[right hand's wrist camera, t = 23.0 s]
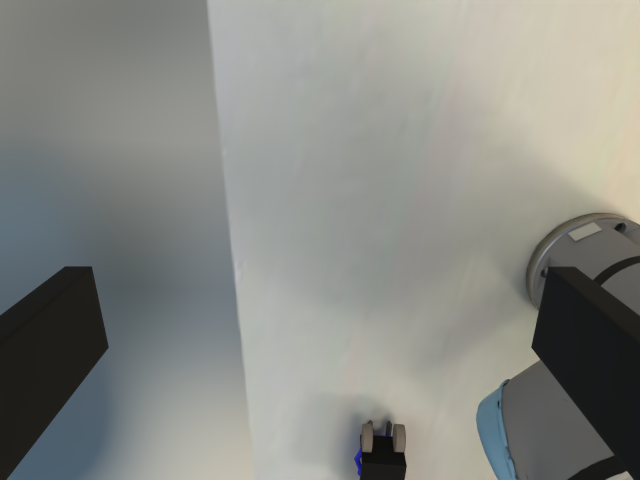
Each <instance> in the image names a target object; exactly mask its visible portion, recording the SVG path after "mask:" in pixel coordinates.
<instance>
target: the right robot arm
mask: <svg viewBox="0 0 640 480" xmlns="http://www.w3.org/2000/svg"><path fill="white" fill-rule="evenodd" d="M526 285H527V291H528V294H529V297H530V299H531V301H532V303H533V304H534V305H535V307H536V308H537V309H538V310H539V313H538V318H537V323H536V328H535V332H534V337H533V342H532V347H531V348H532V349H533V350H534V352H535V353H536V354H537V355H538V357H539V358H540V359H541V360H539V361H538V362H536V363H535V364H533V365H532V366H530V367H529V368H527V369H526V370H524V371H523V372H521V373H520V374H518V375H517V376H515V377H514V378H512V379H507V380H505V381H504V382H503V383H502V384H501V386H500V387H499V388H498V389H497V390H495V391H494V392H492V393H491V394H490V395H488V396H487V397H486V398H484V399H483V400H482V401H481V403H480V404H479V407H478V411H477V415H476V422H477V428H478V433H479V436H480V440H481V443H482V446H483V448H484V451H485V453H486V456H487V458H488V460H489V463H490V465H491V467H492V469H493V471H494V473H495V475H496V477H497V479H498V480H640V225H638V224H637V223H635V222H632V221H630V220H628V219H626V218H624V217H621V216H618V215H613V214H605V213H599V214H590V215H585V216H581V217H578V218H575V219H573V220H570V221H568V222H566V223H564V224H563V225H561V226H559V227H558V228H557V229H555V230H554V231H553V232H551V233H550V234H549V235H548V236H547V237H546V238H545V239H544V240H543V241H542V242H541V243H540V245H539V246H538V247H537V249H536V251H535V252H534V254H533V256H532V258H531V260H530V263H529V266H528V269H527V276H526ZM107 349H108V342H107V337H106V332H105V328H104V323H103V318H102V313H101V309H100V304H99V299H98V294H97V289H96V285H95V280H94V275H93V270H92V267H64V268H63V269H61V270H60V271H59V272H57V273H56V274H55V275H53V276H52V277H51V278H49V279H48V280H47V281H45V282H44V283H43V284H41V285H40V286H39V287H37V288H36V289H35V290H33V291H32V292H31V293H29V294H28V295H27V296H26V297H24V298H23V299H22V300H20V301H19V302H18V303H16V304H15V305H14V306H12V307H11V308H10V309H8V310H7V311H6V312H4V313H3V314H2V315H0V480H7V478H8V477H9V476H10V474H11V473H12V472H13V470H14V469H15V468H16V467H17V465H18V464H19V463H20V461H21V460H22V459H23V458H24V456H25V455H26V454H27V452H28V451H29V450H30V449H31V447H32V446H33V445H34V443H35V442H36V441H37V439H38V438H39V437H40V436H41V434H42V433H43V432H44V430H45V429H46V428H47V427H48V425H49V424H50V423H51V421H52V420H53V419H54V417H55V416H56V415H57V414H58V412H59V411H60V410H61V408H62V407H63V406H64V405H65V403H66V402H67V401H68V399H69V398H70V397H71V396H72V394H73V393H74V392H75V390H76V389H77V388H78V386H79V385H80V384H81V383H82V381H83V380H84V379H85V377H86V376H87V375H88V374H89V372H90V371H91V370H92V368H93V367H94V366H95V364H96V363H97V362H98V360H99V359H100V358H101V357H102V355H103V354H104V353H105V352H106V350H107Z"/></svg>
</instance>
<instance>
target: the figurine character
mask: <svg viewBox="0 0 640 480" xmlns="http://www.w3.org/2000/svg"><path fill="white" fill-rule="evenodd" d="M391 430H392V424H391V422H390V420H389V421H388V422H387V425H386V436H376V435H373V429H372V421H371V420H370V421H369V422H368V423H367V424H363V426H362V434H361V435H360V443H361V448H360V450H359V452H358V453H357V455H356V457H355V458H354V460H355V462H356V465H357V467H358V469H359V470H358V475H360V479H359V480H405V473H406V466H407V465H406V461H405V455H404V451H405V444H406V433H405V426H404V425H401V424H394V428H393V437H391ZM360 458H361V459H362V464H361V462H360V460H359V459H360Z"/></svg>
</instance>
